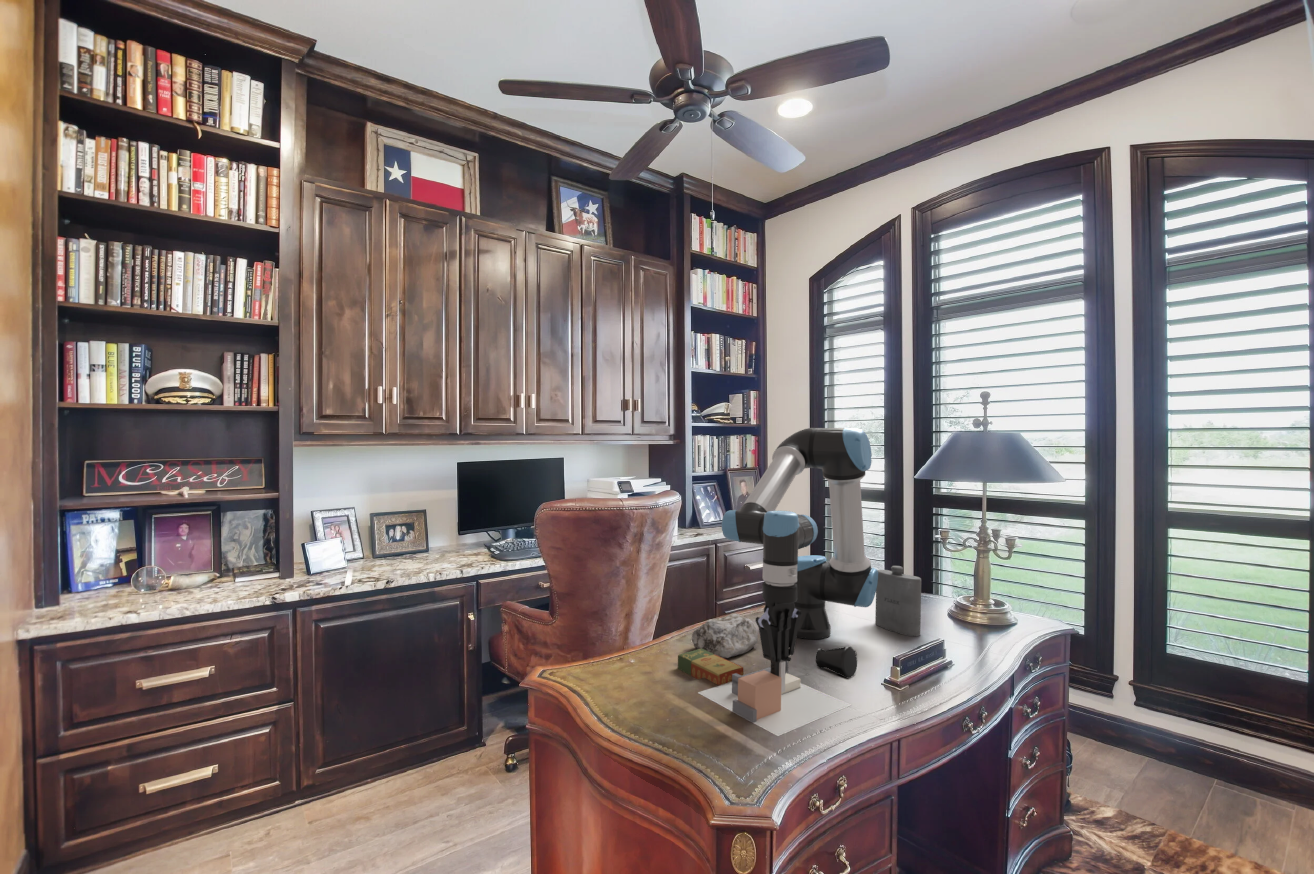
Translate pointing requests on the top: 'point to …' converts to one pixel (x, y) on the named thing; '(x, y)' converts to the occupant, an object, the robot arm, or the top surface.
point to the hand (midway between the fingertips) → (778, 689)
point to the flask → (898, 602)
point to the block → (761, 692)
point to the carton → (708, 666)
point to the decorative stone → (726, 636)
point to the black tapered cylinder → (838, 660)
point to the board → (795, 704)
